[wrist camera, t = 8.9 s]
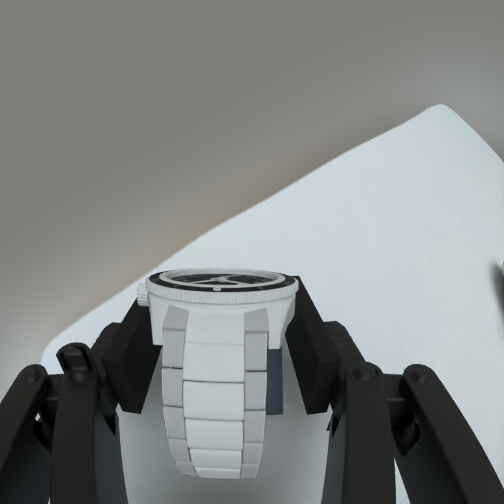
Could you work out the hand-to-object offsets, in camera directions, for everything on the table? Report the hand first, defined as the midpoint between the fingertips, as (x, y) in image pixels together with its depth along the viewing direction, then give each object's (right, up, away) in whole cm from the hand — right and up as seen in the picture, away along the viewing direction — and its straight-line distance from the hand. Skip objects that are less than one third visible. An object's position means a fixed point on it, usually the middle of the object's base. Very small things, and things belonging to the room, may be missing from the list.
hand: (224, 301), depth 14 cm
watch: (0, -5, +2) cm, 5 cm away
